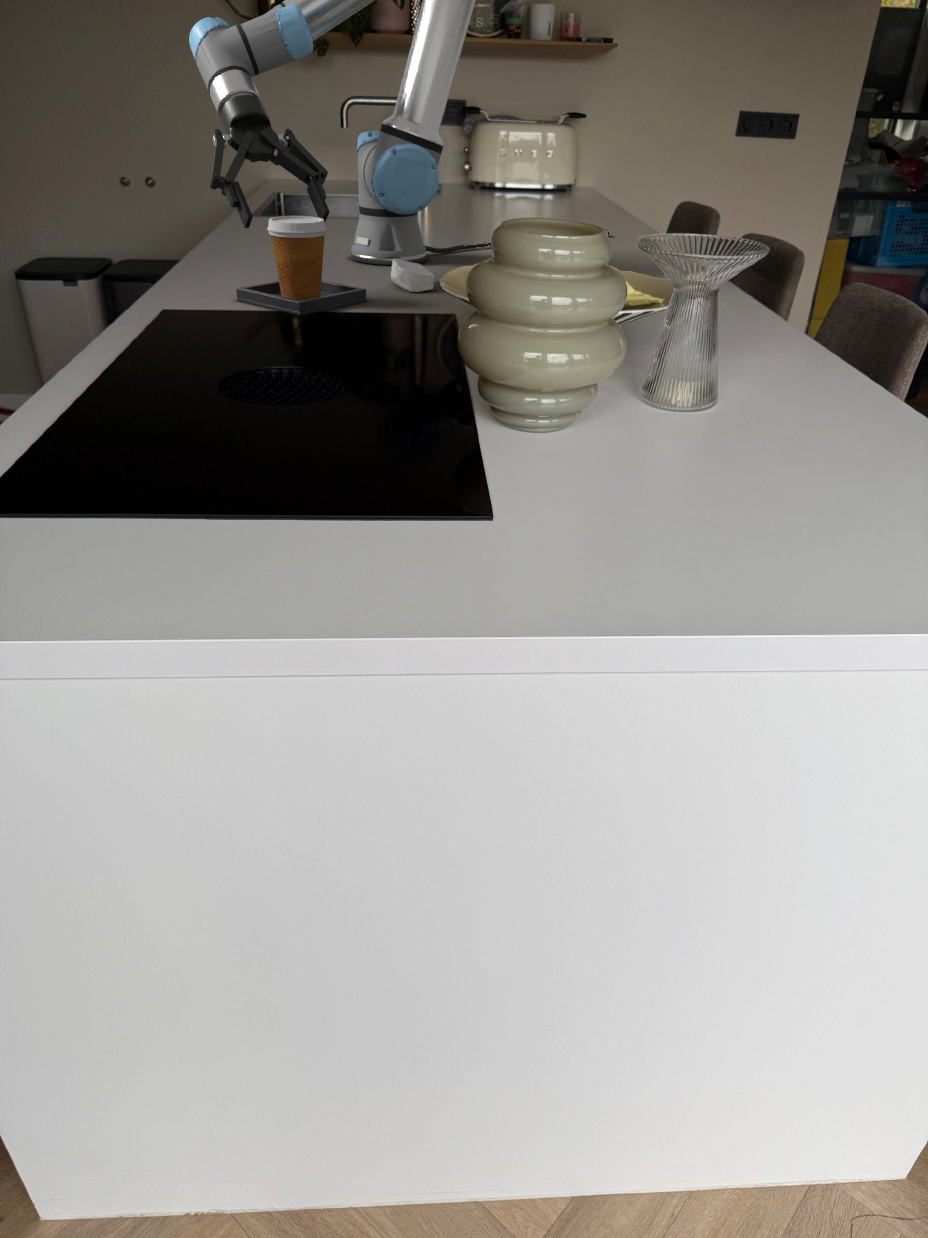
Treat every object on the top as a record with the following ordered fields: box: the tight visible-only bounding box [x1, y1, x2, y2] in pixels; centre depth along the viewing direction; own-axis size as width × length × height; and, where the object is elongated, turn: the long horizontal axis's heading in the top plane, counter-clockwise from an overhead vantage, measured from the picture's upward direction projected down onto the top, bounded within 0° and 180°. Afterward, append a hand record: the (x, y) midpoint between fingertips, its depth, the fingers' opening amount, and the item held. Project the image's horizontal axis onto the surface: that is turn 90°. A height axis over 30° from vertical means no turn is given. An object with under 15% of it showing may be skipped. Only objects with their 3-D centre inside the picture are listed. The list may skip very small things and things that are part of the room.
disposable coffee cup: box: [266, 215, 328, 301], centre depth 148 cm, size 10×10×12 cm
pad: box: [235, 279, 367, 317], centre depth 151 cm, size 15×15×2 cm
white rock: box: [390, 259, 435, 293], centre depth 163 cm, size 10×6×6 cm, turn 13°
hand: (288, 219), depth 148 cm, fingers open, 13 cm apart
